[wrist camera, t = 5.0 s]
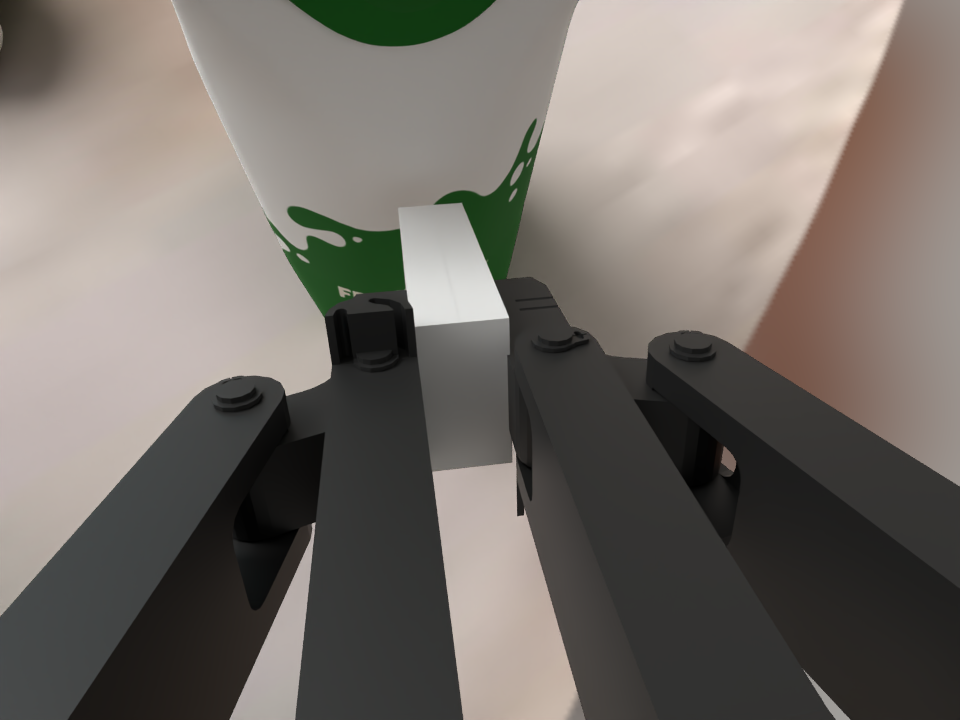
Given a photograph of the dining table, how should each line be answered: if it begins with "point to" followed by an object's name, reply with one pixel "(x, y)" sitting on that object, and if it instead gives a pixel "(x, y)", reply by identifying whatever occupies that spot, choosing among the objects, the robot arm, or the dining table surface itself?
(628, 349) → the dining table surface
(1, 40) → the rainbow cloud toy
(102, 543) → the robot arm
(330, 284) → the fresh milk carton
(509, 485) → the dining table surface
